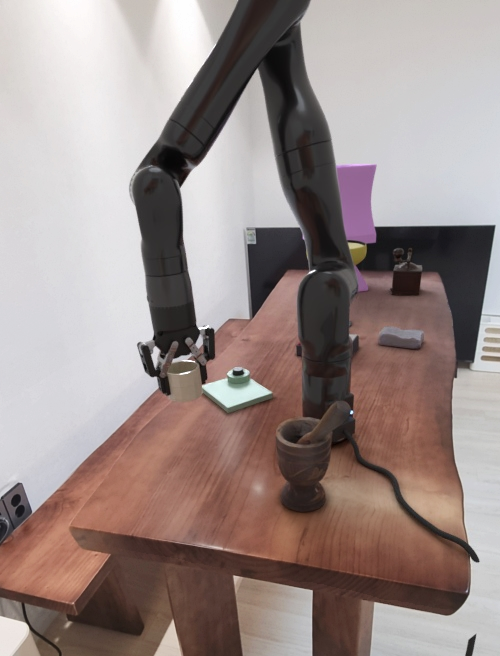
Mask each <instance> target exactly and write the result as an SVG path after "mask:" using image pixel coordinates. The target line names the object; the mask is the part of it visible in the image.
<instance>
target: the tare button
mask: <svg viewBox="0 0 500 656" xmlns="http://www.w3.org/2000/svg"><path fill="white" fill-rule="evenodd" d="M243 369H244V367H242V366H235V367H233V368H232V370H233V375H234V376H241V375H243V374H244V373H243Z"/></svg>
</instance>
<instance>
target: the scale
mask: <svg viewBox="0 0 500 656" xmlns="http://www.w3.org/2000/svg"><path fill="white" fill-rule="evenodd" d="M243 373H244V374H243V375H241V376H234V375H233V369H230V370H229V371H227V373H226V377H225V378H222V379H219V380H215V381H212V382H209V383H206V384H203V385H202V389H203V395H205V396H206V397H208V398H209V399H210V400H211V401H213V403H215V404H216V405H218V407H220V408H221V409H222V410H223V411H225V412H226V413H227V414H230V413H233V412H235V411H239V410H241V409H245V408H247V407H250V406H253V405H257V404H260V403H261V402H264V401H268V400H271V399H273V398H274V393H273V391H271V390H269V389H268V388H266V387H264V386H263V385H261V384H260V383H258V382H257V381H255V380H254V379H252V378H251V376H250V374H251V373H250V371H249V370H248V369H246V368H243Z"/></svg>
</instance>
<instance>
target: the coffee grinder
mask: <svg viewBox="0 0 500 656" xmlns="http://www.w3.org/2000/svg"><path fill="white" fill-rule="evenodd" d="M412 253H413V248H412V247H409V248H408V252H407V258H406V259H403V258H402V257H403V255H404V254H405V250H404V249H403V248H401V247H397V248H395V249H393V250H392V255H393V257H394V258H393V261H394V263H398V264H395V265H394V268H393V270H392V271H393V272H392V281H391V287H390V289H389V291H390V294H391V295H392V296H401V297H406V296H407V297H419V296H420V290H421V284H422V283H421V282H422V273H423V265H422V264H421V265H420V264H416V263H413V262H411V258H412V255H413V254H412Z"/></svg>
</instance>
